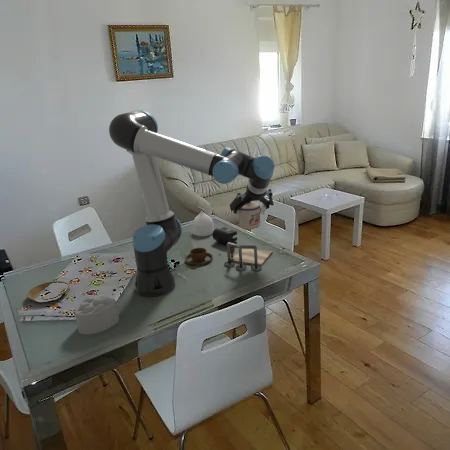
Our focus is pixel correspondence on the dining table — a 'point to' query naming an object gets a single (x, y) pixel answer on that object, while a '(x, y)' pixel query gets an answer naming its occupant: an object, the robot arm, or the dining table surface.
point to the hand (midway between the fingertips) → (249, 213)
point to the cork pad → (252, 256)
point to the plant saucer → (39, 288)
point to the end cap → (224, 235)
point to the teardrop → (203, 225)
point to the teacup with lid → (250, 216)
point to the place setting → (201, 256)
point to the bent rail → (241, 267)
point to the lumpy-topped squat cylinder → (96, 314)
